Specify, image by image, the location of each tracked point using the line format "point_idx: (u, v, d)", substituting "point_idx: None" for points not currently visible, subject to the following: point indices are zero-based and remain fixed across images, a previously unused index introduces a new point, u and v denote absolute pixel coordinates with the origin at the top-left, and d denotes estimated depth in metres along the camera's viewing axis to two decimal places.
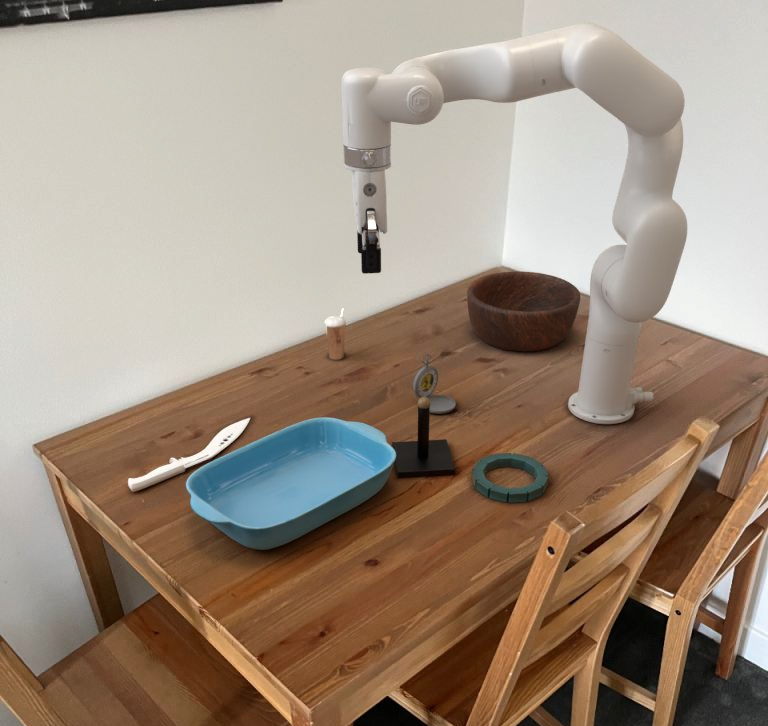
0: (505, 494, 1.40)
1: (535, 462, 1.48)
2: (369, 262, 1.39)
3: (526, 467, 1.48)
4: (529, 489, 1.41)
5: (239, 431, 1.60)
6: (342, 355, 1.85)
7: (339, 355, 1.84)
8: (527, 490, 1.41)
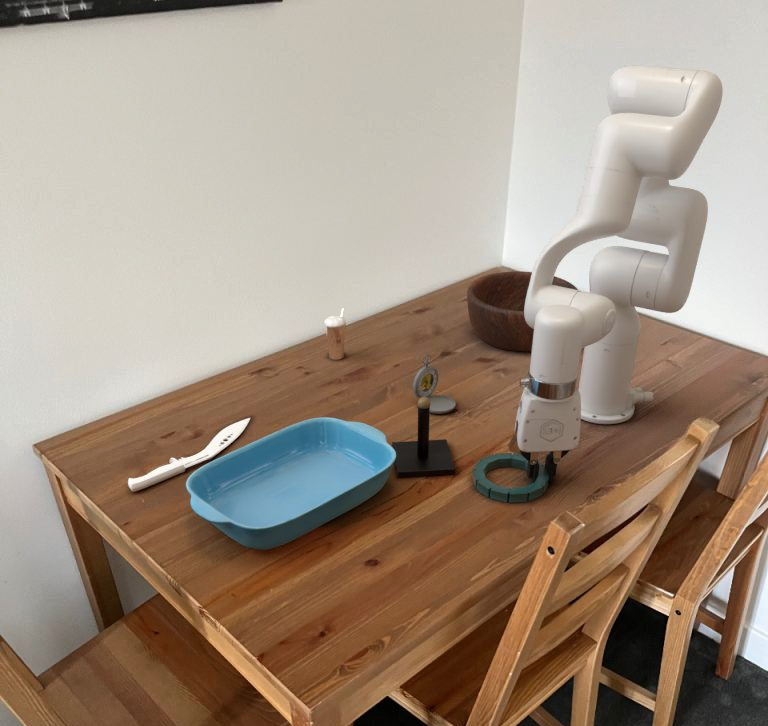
0: (506, 494, 1.40)
1: None
2: (527, 468, 1.46)
3: (526, 467, 1.48)
4: (529, 489, 1.41)
5: (239, 431, 1.60)
6: (342, 355, 1.85)
7: (339, 355, 1.84)
8: (528, 490, 1.41)
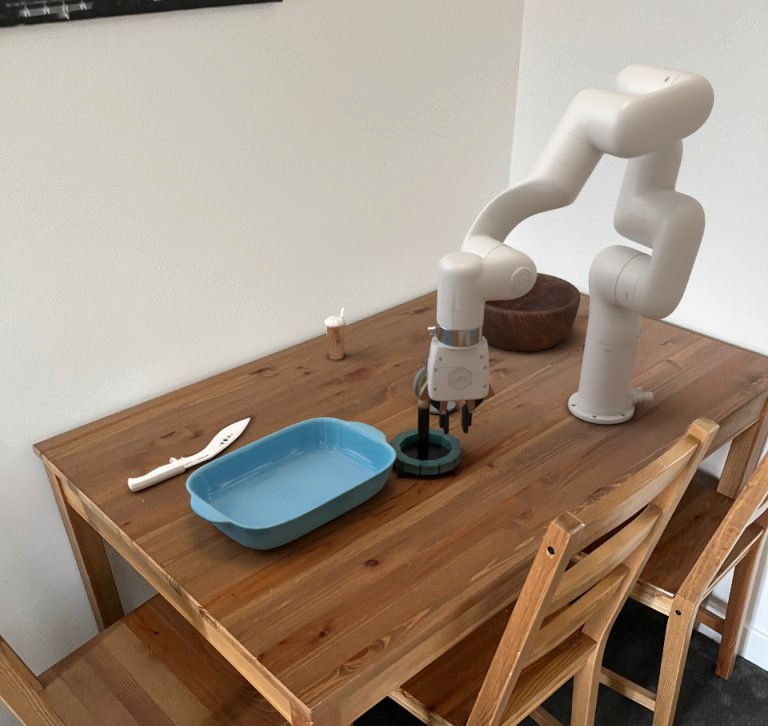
0: (417, 466, 1.45)
1: (451, 437, 1.52)
2: (439, 419, 1.48)
3: (443, 442, 1.53)
4: (441, 461, 1.46)
5: (239, 431, 1.60)
6: (342, 355, 1.85)
7: (339, 355, 1.84)
8: (439, 463, 1.46)
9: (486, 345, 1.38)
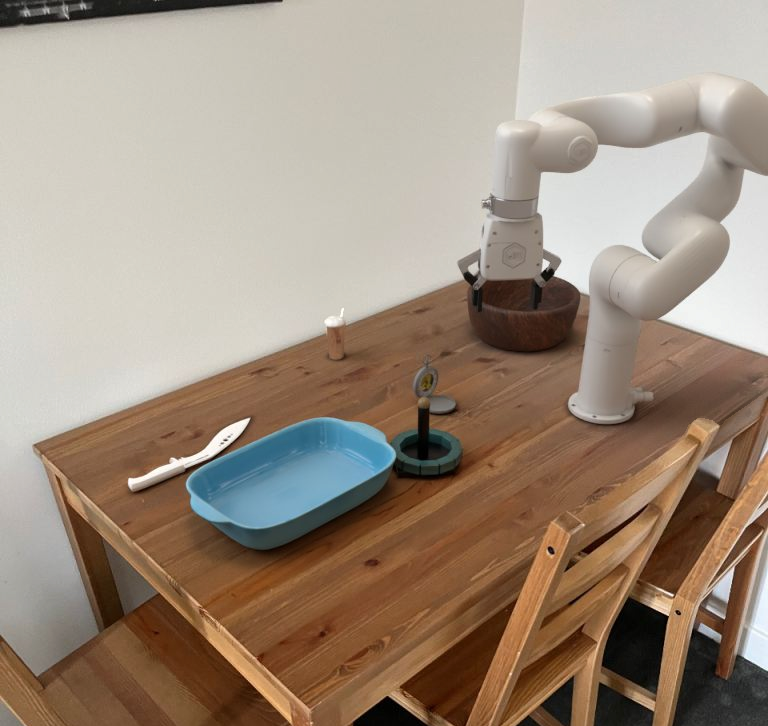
0: (417, 466, 1.45)
1: (451, 437, 1.52)
2: (472, 296, 1.44)
3: (443, 442, 1.53)
4: (441, 461, 1.46)
5: (239, 431, 1.60)
6: (342, 355, 1.85)
7: (339, 355, 1.84)
8: (439, 463, 1.46)
9: (541, 219, 1.36)
